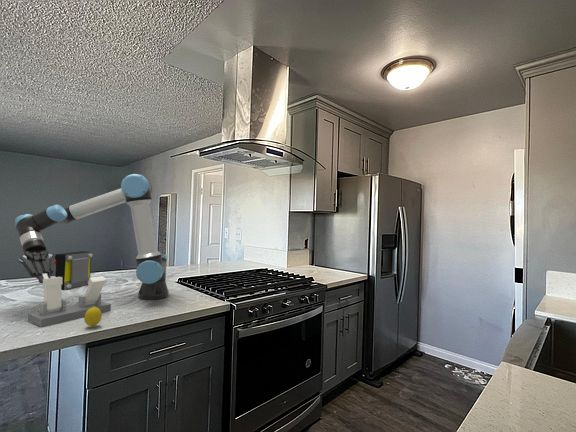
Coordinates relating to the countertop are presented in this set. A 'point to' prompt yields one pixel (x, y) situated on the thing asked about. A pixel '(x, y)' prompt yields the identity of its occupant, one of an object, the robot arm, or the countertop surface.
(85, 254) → the electrical component
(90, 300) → the lever
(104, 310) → the block
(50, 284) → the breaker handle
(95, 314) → the lemon
